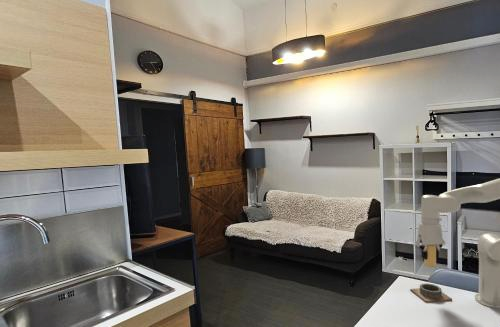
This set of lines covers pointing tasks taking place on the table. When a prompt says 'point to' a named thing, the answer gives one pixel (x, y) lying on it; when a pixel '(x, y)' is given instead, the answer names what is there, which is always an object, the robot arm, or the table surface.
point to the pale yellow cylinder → (431, 256)
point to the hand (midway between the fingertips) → (430, 257)
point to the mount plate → (444, 297)
